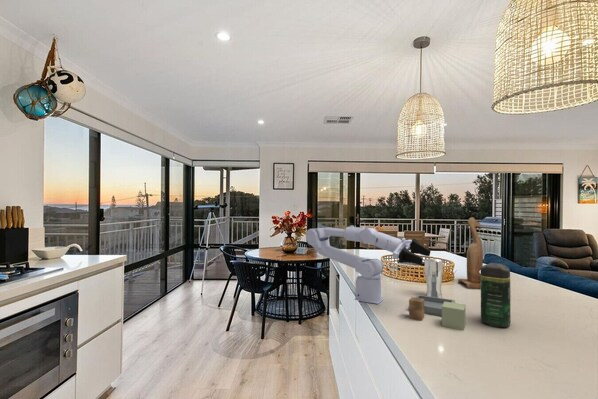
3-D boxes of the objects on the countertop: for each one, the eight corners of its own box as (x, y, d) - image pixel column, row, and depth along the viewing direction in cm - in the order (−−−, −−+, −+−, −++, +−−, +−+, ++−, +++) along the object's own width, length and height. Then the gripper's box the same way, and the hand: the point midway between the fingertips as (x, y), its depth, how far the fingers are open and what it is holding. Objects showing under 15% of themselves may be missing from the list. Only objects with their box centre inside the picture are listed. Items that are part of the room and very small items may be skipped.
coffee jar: (509, 330, 90) (508, 267, 90) (478, 324, 95) (477, 264, 95) (512, 321, 97) (511, 263, 98) (483, 315, 102) (483, 260, 103)
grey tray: (409, 310, 107) (409, 303, 107) (417, 301, 118) (417, 294, 118) (450, 318, 100) (450, 310, 100) (454, 307, 111) (454, 300, 111)
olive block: (442, 326, 93) (441, 306, 94) (444, 319, 98) (444, 301, 99) (464, 330, 90) (463, 310, 90) (465, 323, 95) (465, 304, 95)
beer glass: (445, 299, 119) (445, 261, 119) (426, 298, 121) (426, 261, 121) (441, 294, 126) (440, 258, 126) (423, 293, 127) (422, 258, 128)
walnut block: (409, 318, 100) (409, 300, 100) (411, 314, 103) (411, 297, 103) (422, 320, 97) (421, 302, 98) (424, 317, 101) (424, 298, 101)
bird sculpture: (494, 290, 134) (495, 218, 135) (467, 289, 135) (468, 217, 135) (481, 284, 145) (481, 217, 146) (455, 283, 146) (456, 216, 147)
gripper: (382, 240, 108) (420, 254, 100) (399, 228, 118) (435, 240, 110) (379, 257, 110) (416, 272, 102) (397, 244, 121) (431, 257, 113)
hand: (426, 257), depth 106 cm, fingers open, 7 cm apart
